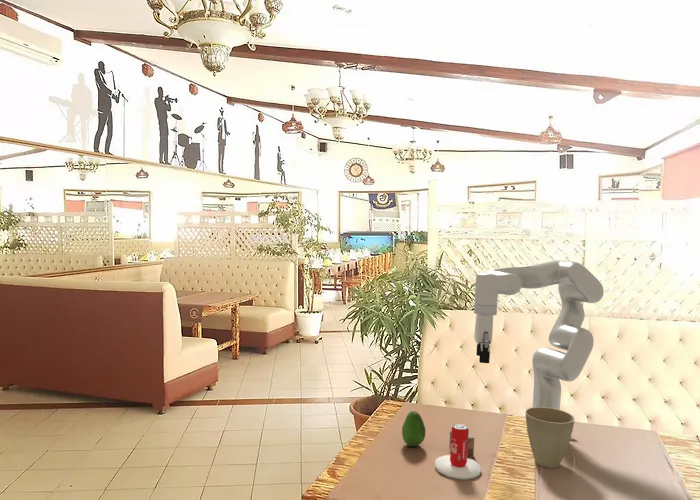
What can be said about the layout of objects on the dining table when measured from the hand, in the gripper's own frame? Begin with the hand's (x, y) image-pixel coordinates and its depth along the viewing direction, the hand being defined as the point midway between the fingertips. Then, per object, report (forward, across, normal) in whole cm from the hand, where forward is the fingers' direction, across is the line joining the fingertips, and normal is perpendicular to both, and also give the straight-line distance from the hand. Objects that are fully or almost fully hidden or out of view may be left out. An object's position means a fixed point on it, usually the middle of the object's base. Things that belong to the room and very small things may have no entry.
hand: (482, 359), depth 181 cm
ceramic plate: (+30, +19, -8) cm, 37 cm away
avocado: (+31, +5, -22) cm, 38 cm away
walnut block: (+30, +6, -6) cm, 32 cm away
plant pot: (+31, +8, +21) cm, 38 cm away
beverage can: (+29, +18, -8) cm, 36 cm away
